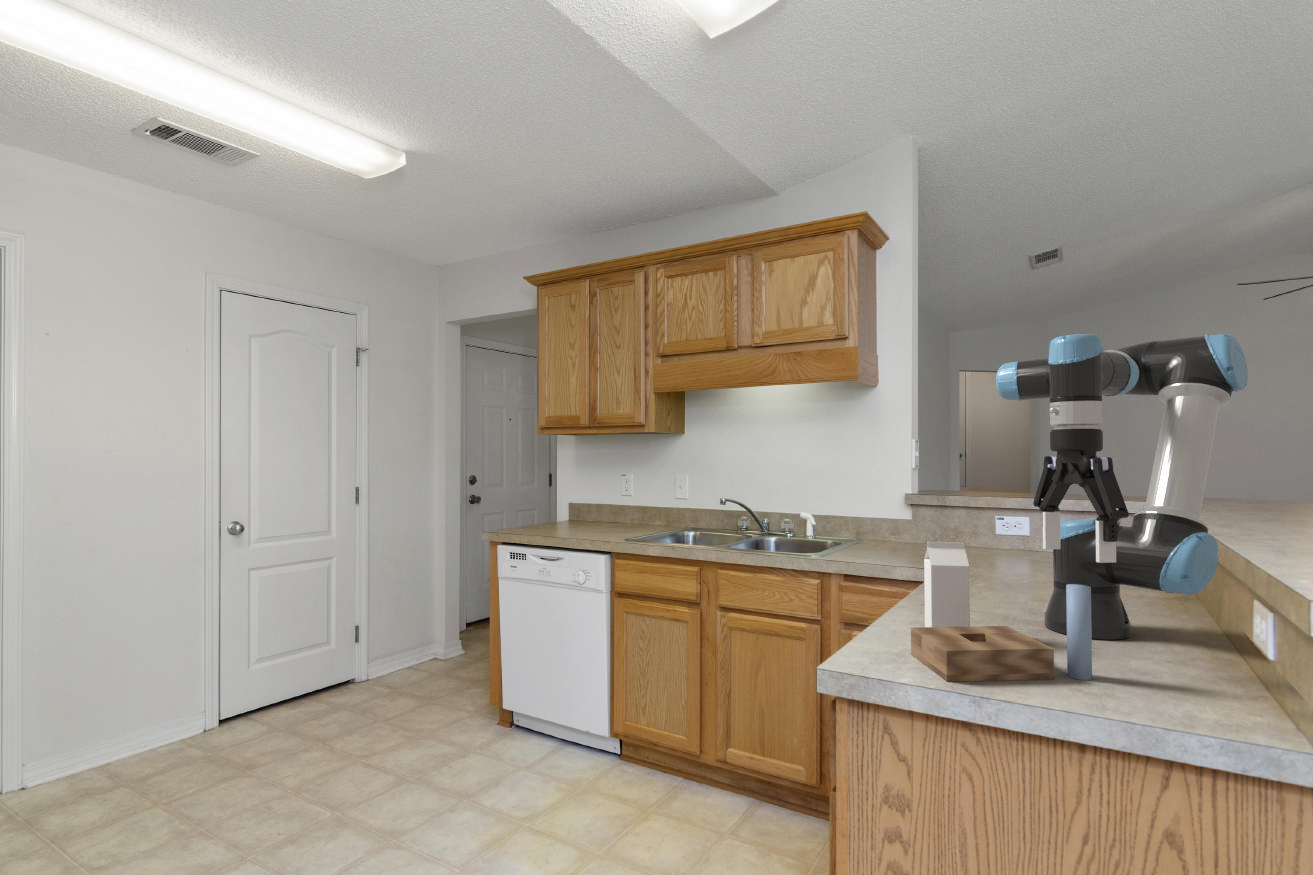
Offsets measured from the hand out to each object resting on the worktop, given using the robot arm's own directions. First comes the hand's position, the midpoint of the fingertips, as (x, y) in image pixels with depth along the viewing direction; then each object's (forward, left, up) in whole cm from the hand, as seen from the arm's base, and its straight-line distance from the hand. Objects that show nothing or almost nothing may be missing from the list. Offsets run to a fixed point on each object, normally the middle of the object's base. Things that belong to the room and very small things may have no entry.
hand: (1077, 555), depth 112 cm
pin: (0, 0, -20) cm, 20 cm away
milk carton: (+11, -24, -20) cm, 33 cm away
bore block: (+14, -6, -20) cm, 25 cm away
